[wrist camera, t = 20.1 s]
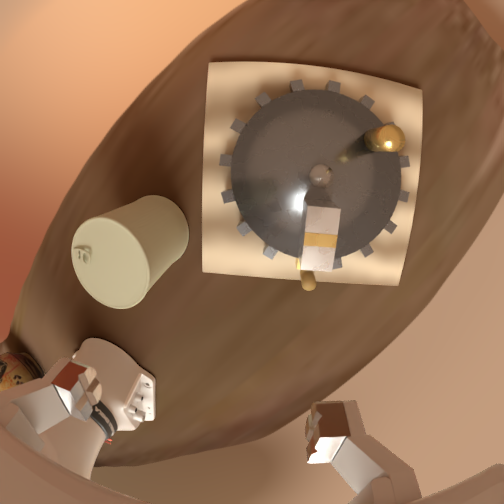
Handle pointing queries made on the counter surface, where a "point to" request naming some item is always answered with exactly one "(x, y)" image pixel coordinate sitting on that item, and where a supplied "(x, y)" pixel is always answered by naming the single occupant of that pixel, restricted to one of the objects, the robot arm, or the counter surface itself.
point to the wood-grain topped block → (318, 235)
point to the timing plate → (223, 142)
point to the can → (128, 249)
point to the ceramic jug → (17, 370)
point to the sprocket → (315, 168)
